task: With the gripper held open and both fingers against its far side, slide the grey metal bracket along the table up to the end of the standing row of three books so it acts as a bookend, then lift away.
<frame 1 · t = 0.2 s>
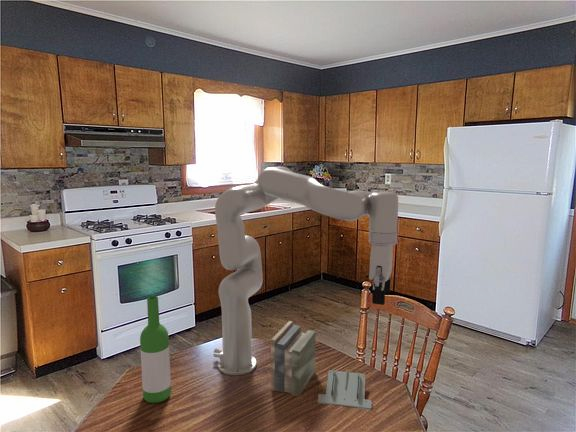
hand: (381, 297, 112), 30 cm above the table, tool pointing down, fingers open, 9 cm apart
metal bracket: (345, 395, 119), on the table
wine bottle: (157, 397, 117), on the table
book row: (295, 380, 125), on the table
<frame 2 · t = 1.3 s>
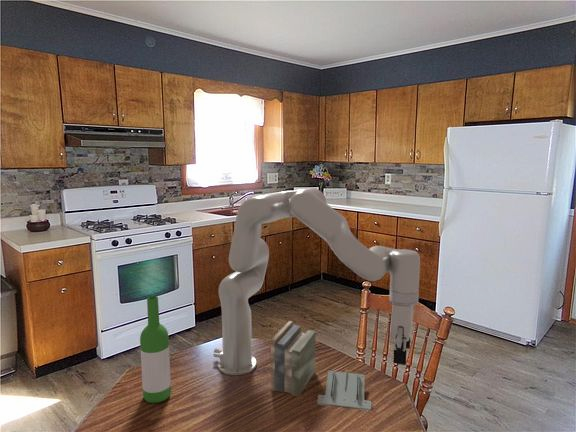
hand: (401, 355, 111), 15 cm above the table, tool pointing down, fingers open, 9 cm apart
nothing on the table moved.
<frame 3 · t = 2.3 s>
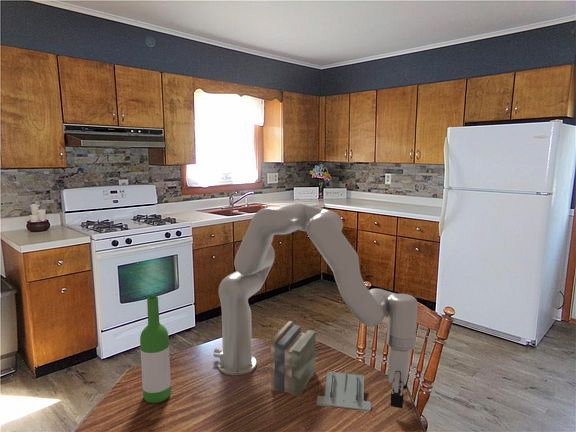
hand: (398, 396, 113), 3 cm above the table, tool pointing down, fingers open, 9 cm apart
nothing on the table moved.
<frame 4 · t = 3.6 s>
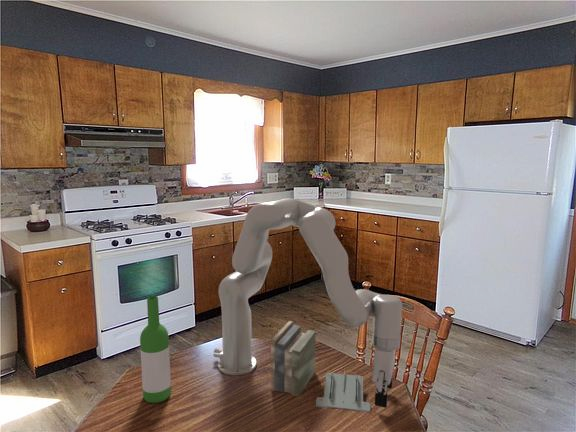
hand: (383, 396, 115), 2 cm above the table, tool pointing down, fingers open, 9 cm apart
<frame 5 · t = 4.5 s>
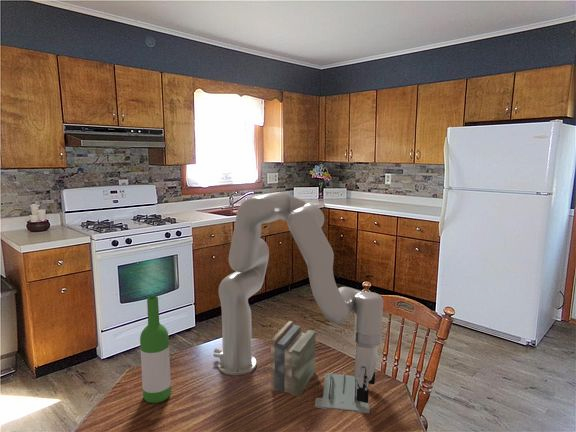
hand: (365, 391, 117), 2 cm above the table, tool pointing down, fingers open, 9 cm apart
metal bracket: (342, 398, 118), on the table, touching gripper
everything else where it was.
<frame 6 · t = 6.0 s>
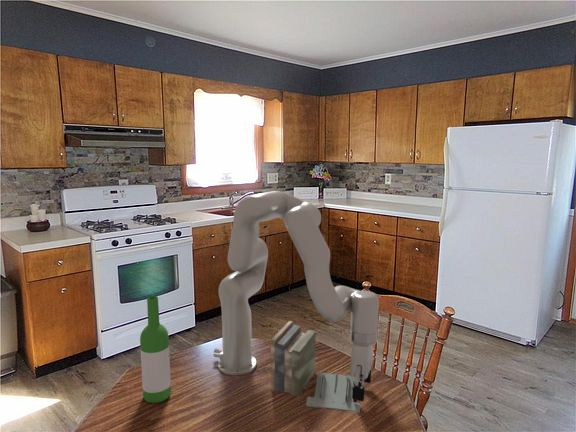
hand: (361, 390, 117), 2 cm above the table, tool pointing down, fingers open, 9 cm apart
metal bracket: (334, 398, 118), on the table
everything else where it was.
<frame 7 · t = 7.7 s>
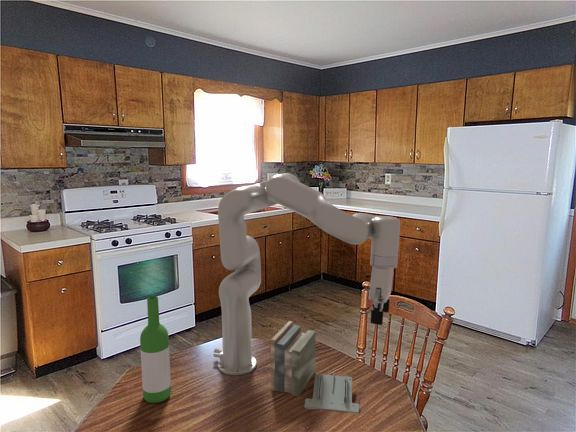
hand: (379, 317, 117), 23 cm above the table, tool pointing down, fingers open, 9 cm apart
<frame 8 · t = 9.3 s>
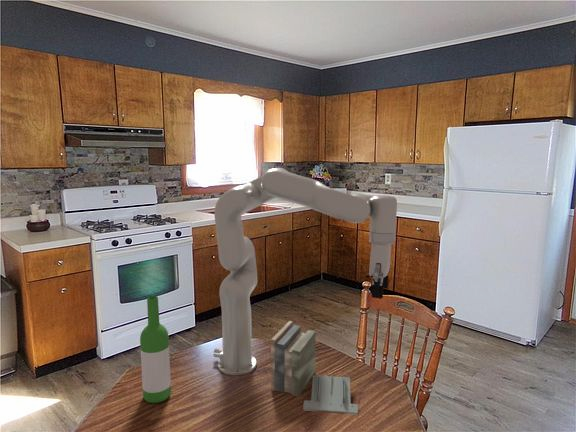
hand: (379, 292, 122), 28 cm above the table, tool pointing down, fingers open, 9 cm apart
at the end: metal bracket inside the target area (4.8 cm from its centre), on the table; metal bracket moved 5.6 cm from its start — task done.
